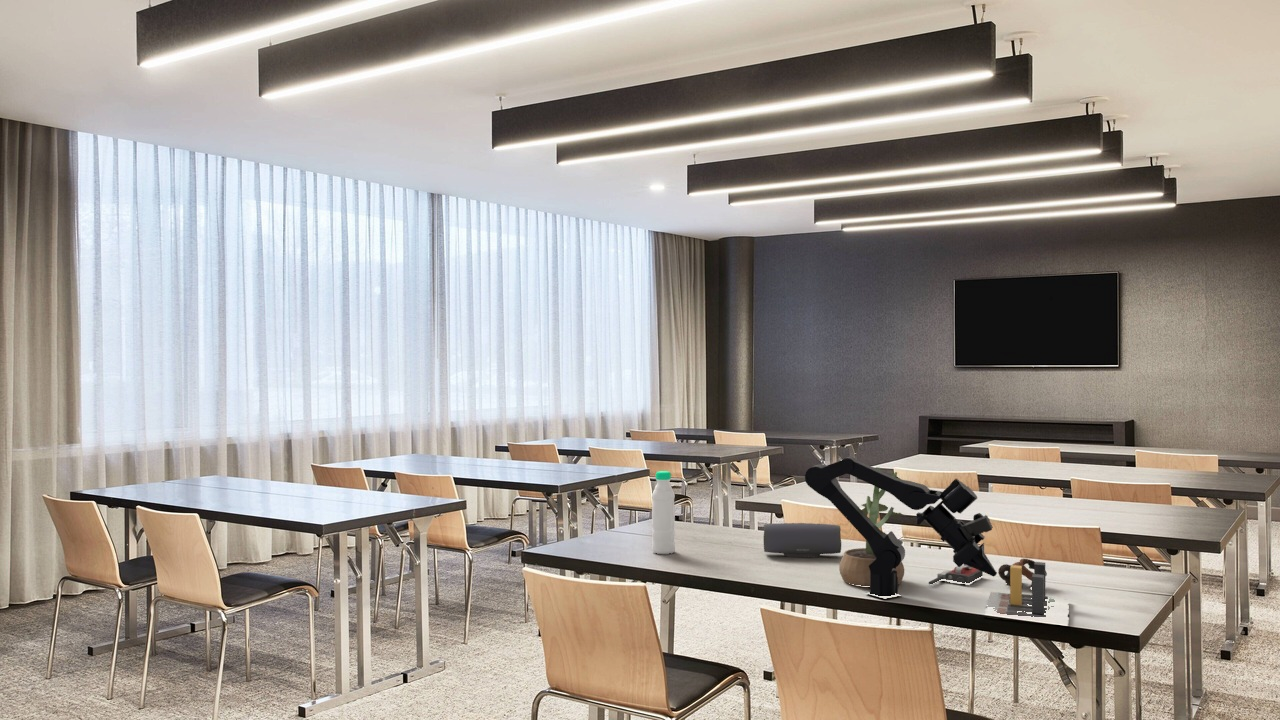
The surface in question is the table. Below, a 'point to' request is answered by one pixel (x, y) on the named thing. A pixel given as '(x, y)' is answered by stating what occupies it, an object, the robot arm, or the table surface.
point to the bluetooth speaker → (802, 539)
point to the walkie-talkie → (959, 574)
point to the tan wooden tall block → (1016, 585)
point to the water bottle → (663, 515)
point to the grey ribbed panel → (1024, 597)
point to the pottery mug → (1024, 570)
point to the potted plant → (867, 545)
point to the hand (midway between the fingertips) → (995, 575)
